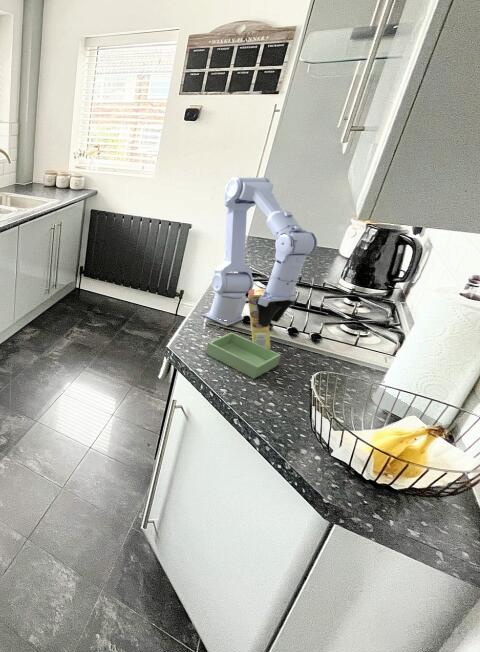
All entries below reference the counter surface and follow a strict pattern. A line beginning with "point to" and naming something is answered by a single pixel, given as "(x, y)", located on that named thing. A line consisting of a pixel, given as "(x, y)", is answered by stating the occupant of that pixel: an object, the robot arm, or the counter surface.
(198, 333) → the counter surface
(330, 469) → the counter surface
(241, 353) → the tray
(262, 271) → the counter surface
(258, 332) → the candy box
